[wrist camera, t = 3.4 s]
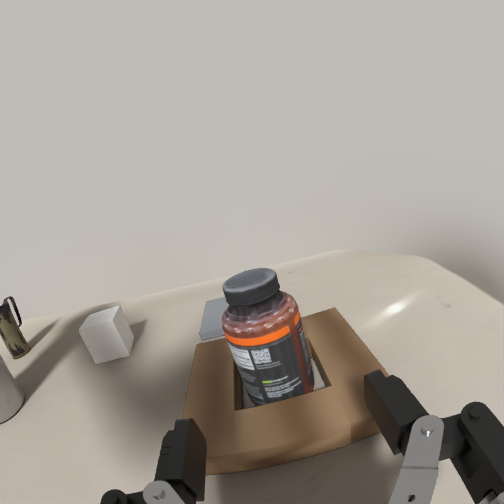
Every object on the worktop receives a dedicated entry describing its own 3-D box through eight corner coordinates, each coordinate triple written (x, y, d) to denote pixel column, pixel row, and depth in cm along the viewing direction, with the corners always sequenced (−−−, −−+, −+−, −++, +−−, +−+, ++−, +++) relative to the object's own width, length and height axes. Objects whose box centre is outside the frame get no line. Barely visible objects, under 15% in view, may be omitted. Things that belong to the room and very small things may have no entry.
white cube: (130, 356, 35) (112, 320, 34) (96, 364, 34) (78, 330, 32) (134, 337, 41) (120, 304, 39) (104, 346, 40) (88, 314, 38)
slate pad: (201, 340, 36) (199, 333, 35) (207, 306, 46) (206, 301, 46) (282, 319, 36) (280, 313, 35) (271, 290, 46) (269, 284, 46)
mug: (21, 358, 38) (-4, 306, 36) (9, 360, 38) (-16, 310, 35) (39, 341, 46) (17, 293, 43) (25, 343, 46) (4, 297, 43)
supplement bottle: (294, 362, 26) (268, 257, 24) (328, 392, 21) (307, 270, 18) (240, 388, 24) (201, 282, 22) (266, 425, 19) (222, 305, 16)
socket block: (190, 476, 15) (175, 459, 14) (203, 361, 30) (196, 344, 30) (404, 420, 15) (407, 399, 14) (337, 325, 30) (334, 307, 30)
